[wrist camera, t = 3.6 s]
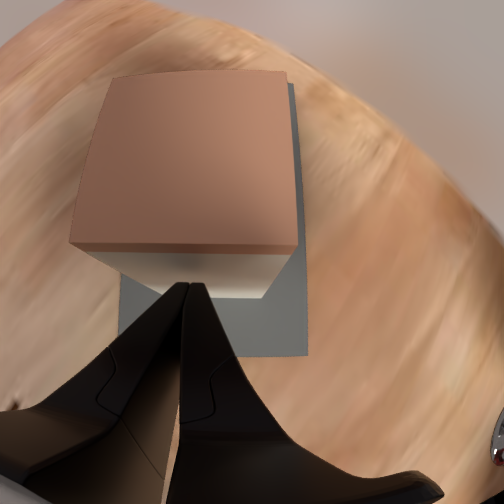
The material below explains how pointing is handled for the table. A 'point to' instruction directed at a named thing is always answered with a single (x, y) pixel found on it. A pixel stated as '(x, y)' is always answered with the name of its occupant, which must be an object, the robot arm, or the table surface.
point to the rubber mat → (253, 309)
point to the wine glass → (498, 442)
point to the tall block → (192, 181)
